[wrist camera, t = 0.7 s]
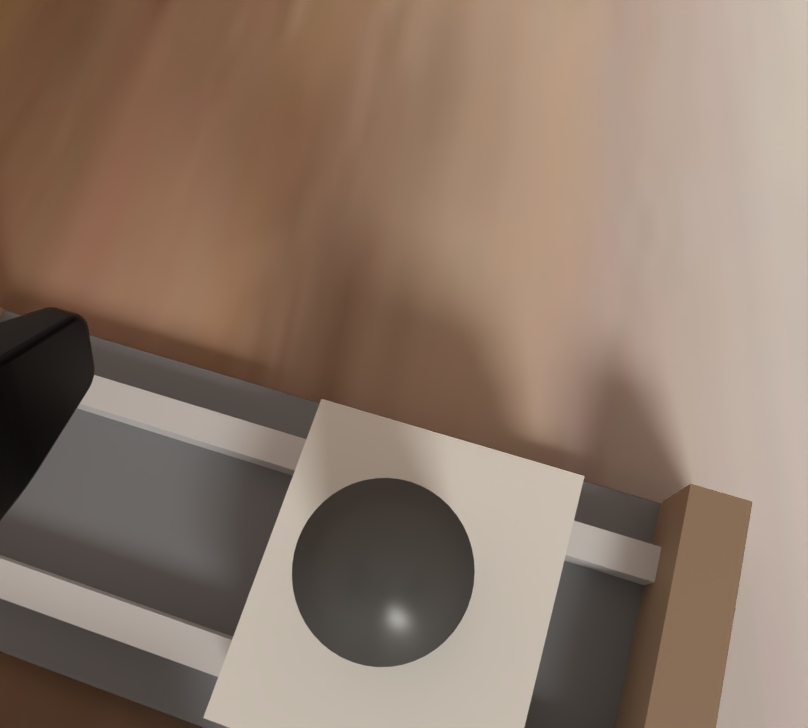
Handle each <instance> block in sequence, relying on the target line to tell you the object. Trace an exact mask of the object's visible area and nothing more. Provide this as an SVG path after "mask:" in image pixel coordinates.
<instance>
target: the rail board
mask: <svg viewBox="0 0 808 728" xmlns="http://www.w3.org/2000/svg"><path fill="white" fill-rule="evenodd" d="M18 316H22V315H19V314H16V313H12V312H9V311H6V310H4V309H3V308H2V307H0V322H2V321H6V320H9V319H12V318H15V317H18ZM89 336H90V335H89ZM90 342H91V348H92V354H93V360H94V366H95V371H94V378H93V381H92V384H91V386H90V388H89V390H88V391H87V393H86V394H85V396H84V398H83V399H82V401H81V402H80V404H79V406H78V407H77V409H76V410H75V412H74V414H73V415H72V417H71V418H70V420H69V422H68V423H67V425H66V426H65V428H64V430H63V431H62V433H61V434H60V436H59V438H58V439H57V441H56V442H55V444H54V446H53V447H52V449H51V450H50V452H49V454H48V455H47V457H46V458H45V460H44V462H43V463H42V465H41V466H40V468H39V470H38V471H37V473H36V474H35V476H34V477H33V479H32V480H31V481H30V483H29V484H28V486H27V487H26V489H25V490H24V491H23V493H22V494H21V495H20V497H19V498H18V499H17V501H16V502H15V503H14V505H13V506H12V507H11V508H10V510H9V511H8V512H7V513H6V515H5V516H4V517H3V519H2V520H1V521H0V652H3V653H5V654H8V655H11V656H13V657H16V658H19V659H21V660H24V661H27V662H29V663H32V664H35V665H37V666H40V667H43V668H45V669H48V670H51V671H53V672H56V673H59V674H61V675H64V676H67V677H69V678H72V679H75V680H77V681H80V682H83V683H86V684H88V685H91V686H94V687H96V688H99V689H102V690H104V691H107V692H110V693H112V694H115V695H118V696H120V697H123V698H126V699H128V700H131V701H134V702H136V703H139V704H142V705H144V706H147V707H150V708H152V709H155V710H158V711H160V712H163V713H166V714H168V715H171V716H174V717H176V718H179V719H182V720H184V721H187V722H190V723H192V724H195V725H198V726H200V727H203V728H229V727H226V726H223V725H221V724H218V723H215V722H213V721H210V720H207V719H205V718H203V717H204V714H205V712H206V709H207V706H208V704H209V701H210V698H211V695H212V693H213V690H214V687H215V685H216V682H217V679H218V677H219V674H220V671H221V668H222V666H223V663H224V660H225V658H226V655H227V652H228V650H229V647H230V644H231V641H232V639H233V636H234V633H235V631H236V628H237V625H238V623H239V620H240V617H241V614H242V612H243V609H244V606H245V604H246V601H247V598H248V596H249V593H250V590H251V587H252V585H253V582H254V579H255V577H256V574H257V571H258V569H259V566H260V563H261V560H262V558H263V555H264V552H265V550H266V547H267V544H268V542H269V539H270V536H271V534H272V531H273V528H274V525H275V523H276V520H277V517H278V515H279V512H280V509H281V507H282V504H283V501H284V498H285V496H286V493H287V490H288V488H289V485H290V482H291V480H292V477H293V474H294V471H295V469H296V466H297V463H298V461H299V458H300V455H301V453H302V450H303V447H304V444H305V442H306V439H307V436H308V434H309V431H310V428H311V426H312V423H313V420H314V417H315V415H316V412H317V409H318V407H319V404H320V403H317V402H314V401H311V400H307V399H304V398H301V397H297V396H294V395H290V394H287V393H284V392H280V391H277V390H273V389H270V388H267V387H263V386H260V385H256V384H253V383H250V382H246V381H243V380H240V379H236V378H233V377H229V376H226V375H223V374H219V373H216V372H212V371H209V370H206V369H202V368H199V367H195V366H192V365H189V364H185V363H182V362H178V361H175V360H172V359H168V358H165V357H162V356H158V355H155V354H151V353H148V352H145V351H141V350H138V349H134V348H131V347H128V346H124V345H121V344H117V343H114V342H111V341H107V340H104V339H101V338H97V337H94V336H90ZM751 507H752V501H748V500H745V499H741V498H738V497H734V496H731V495H727V494H724V493H720V492H717V491H714V490H710V489H707V488H703V487H700V486H696V485H693V484H690V485H688V486H687V487H685V488H684V489H682V490H681V491H679V492H678V493H676V494H674V495H673V496H671V497H670V498H668V499H667V500H665V501H664V502H662V503H657V502H653V501H650V500H646V499H643V498H640V497H636V496H633V495H629V494H626V493H623V492H619V491H616V490H612V489H609V488H606V487H602V486H599V485H595V484H592V483H589V482H585V481H583V485H582V489H581V493H580V497H579V501H578V506H577V510H576V514H575V518H574V522H573V526H572V531H571V535H570V539H569V543H568V547H567V552H566V556H565V560H564V564H563V568H562V572H561V577H560V581H559V585H558V589H557V593H556V598H555V602H554V606H553V610H552V614H551V618H550V623H549V627H548V631H547V635H546V639H545V644H544V648H543V652H542V656H541V660H540V664H539V669H538V673H537V677H536V681H535V685H534V690H533V694H532V698H531V702H530V706H529V710H528V715H527V719H526V723H525V727H524V728H716V723H717V717H718V711H719V704H720V698H721V692H722V686H723V680H724V674H725V667H726V661H727V655H728V649H729V643H730V636H731V630H732V624H733V618H734V612H735V606H736V599H737V593H738V587H739V581H740V575H741V568H742V562H743V556H744V550H745V544H746V538H747V531H748V525H749V519H750V513H751Z"/></svg>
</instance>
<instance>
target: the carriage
mask: <svg viewBox="0 0 808 728" xmlns="http://www.w3.org/2000/svg"><path fill="white" fill-rule="evenodd" d="M583 480H584V476H583V475H579V474H576V473H572V472H569V471H566V470H562V469H559V468H555V467H552V466H549V465H545V464H542V463H538V462H535V461H532V460H528V459H525V458H521V457H518V456H515V455H511V454H508V453H504V452H501V451H498V450H494V449H491V448H487V447H484V446H481V445H477V444H474V443H470V442H467V441H464V440H460V439H457V438H453V437H450V436H447V435H443V434H440V433H436V432H433V431H430V430H426V429H423V428H419V427H416V426H413V425H409V424H406V423H402V422H399V421H396V420H392V419H389V418H385V417H382V416H379V415H375V414H372V413H368V412H365V411H362V410H358V409H355V408H351V407H348V406H344V405H341V404H338V403H334V402H331V401H327V400H324V399H321V401H320V404H319V407H318V409H317V412H316V415H315V417H314V420H313V423H312V426H311V428H310V431H309V434H308V436H307V439H306V442H305V444H304V447H303V450H302V453H301V455H300V458H299V461H298V463H297V466H296V469H295V471H294V474H293V477H292V480H291V482H290V485H289V488H288V490H287V493H286V496H285V498H284V501H283V504H282V507H281V509H280V512H279V515H278V517H277V520H276V523H275V525H274V528H273V531H272V534H271V536H270V539H269V542H268V544H267V547H266V550H265V552H264V555H263V558H262V560H261V563H260V566H259V569H258V571H257V574H256V577H255V579H254V582H253V585H252V587H251V590H250V593H249V596H248V598H247V601H246V604H245V606H244V609H243V612H242V614H241V617H240V620H239V623H238V625H237V628H236V631H235V633H234V636H233V639H232V641H231V644H230V647H229V650H228V652H227V655H226V658H225V660H224V663H223V666H222V668H221V671H220V674H219V677H218V679H217V682H216V685H215V687H214V690H213V693H212V695H211V698H210V701H209V704H208V706H207V709H206V712H205V714H204V717H203V718H205V719H207V720H210V721H213V722H215V723H218V724H221V725H223V726H226V727H229V728H524V727H525V723H526V719H527V715H528V710H529V706H530V702H531V698H532V694H533V690H534V685H535V681H536V677H537V673H538V669H539V664H540V660H541V656H542V652H543V648H544V644H545V639H546V635H547V631H548V627H549V623H550V618H551V614H552V610H553V606H554V602H555V598H556V593H557V589H558V585H559V581H560V577H561V572H562V568H563V564H564V560H565V556H566V552H567V547H568V543H569V539H570V535H571V531H572V526H573V522H574V518H575V514H576V510H577V506H578V501H579V497H580V493H581V489H582V485H583Z"/></svg>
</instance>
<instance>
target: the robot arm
mask: <svg viewBox="0 0 808 728" xmlns="http://www.w3.org/2000/svg"><path fill="white" fill-rule="evenodd" d="M94 371H95V366H94V360H93V354H92V348H91V342H90V336H89V330H88V325H87V322H86V321H85V319H84V318H83V317H82V316H80V315H79V314H76V313H72V312H69V311H65V310H62V309H58V308H53V307H49V308H44V309H41V310H38V311H34V312H31V313H28V314H25V315H22V316H18V317H15V318H12V319H9V320H6V321H2V322H0V521H1V520H2V519H3V517H4V516H5V515H6V513H7V512H8V511H9V510H10V508H11V507H12V506H13V505H14V503H15V502H16V501H17V499H18V498H19V497H20V495H21V494H22V493H23V491H24V490H25V489H26V487H27V486H28V484H29V483H30V481H31V480H32V479H33V477H34V476H35V474H36V473H37V471H38V470H39V468H40V466H41V465H42V463H43V462H44V460H45V458H46V457H47V455H48V454H49V452H50V450H51V449H52V447H53V446H54V444H55V442H56V441H57V439H58V438H59V436H60V434H61V433H62V431H63V430H64V428H65V426H66V425H67V423H68V422H69V420H70V418H71V417H72V415H73V414H74V412H75V410H76V409H77V407H78V406H79V404H80V402H81V401H82V399H83V398H84V396H85V394H86V393H87V391H88V390H89V388H90V386H91V384H92V381H93V378H94Z"/></svg>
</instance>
